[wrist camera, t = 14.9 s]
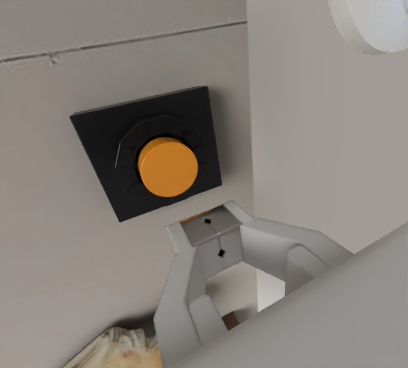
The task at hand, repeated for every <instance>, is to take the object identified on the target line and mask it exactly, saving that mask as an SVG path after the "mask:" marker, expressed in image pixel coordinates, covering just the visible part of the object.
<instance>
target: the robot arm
mask: <svg viewBox="0 0 408 368" xmlns="http://www.w3.org/2000/svg"><path fill="white" fill-rule="evenodd" d="M404 7H405V11H406V12H407V13H408V0H404ZM167 229H168V232H169V235H170V238H171V241H172V244H173V247H174V250H175V253H176V255H175V256H174V259H173V262H172V265H171V268H170V271H169V274H168V277H167V280H166V283H165V286H164V289H163V292H162V295H161V298H160V301H159V304H158V307H157V310H156V313H155V316H154V324H155V330H156V335H157V340H158V345H159V350H160V355H161V361H162V366H163V368H408V222H407V223H405V224H403V225H402V226H400V227H399V228H397V229H395V230H394V231H392V232H390V233H389V234H387V235H385V236H384V237H382V238H380V239H379V240H377V241H375V242H374V243H372V244H371V245H369V246H367V247H366V248H364V249H362V250H361V251H359V252H357V253H356V254H353V253H351V252H349V251H348V250H347V249H345V248H344V247H342V246H341V245H339V244H338V243H336V242H335V241H333V240H332V239H330V238H329V237H327V236H326V235H324V234H323V233H321V232H320V231H315V230H311V229H306V228H302V227H297V226H293V225H288V224H284V223H279V222H275V221H270V220H266V219H261V218H256V219H254V218H253V217H252V216H251V215H250V214H248V213H247V212H246V211H245V210H244V209H243V208H242V207H240V206H239V205H238V204H237V203H236V202H235V201H233V200H231V201H229V202H226V203H224V204H222V205H220V206H218V207H215V208H213V209H211V210H208V211H206V212H203V213H200V214H198V215H195V216H193V217H190V218H187V219H185V220H182V221H180V222H177V223H175V224H172V225H170V226H167ZM243 260H244V262H246V263H248V264H250V265H252V266H254V267H256V268H258V269H260V270H262V271H264V272H266V273H268V274H270V275H273V276H275V277H277V278H279V279H281V280H283V281H285V297H283V298H282V299H280V300H279V301H277V302H275V303H273V304H272V305H270V306H268V307H267V308H265V309H263V310H262V311H260V312H259V313H257V314H255V315H254V316H252V317H250V318H249V319H247V320H245V321H244V322H242V323H240V324H239V325H237V326H236V327H234V328H232V329H231V330H229V331H228V330H227V328H226V326H225V324H224V322H223V320H222V318H221V316H220V314H219V312H218V310H217V308H216V306H215V304H214V302H213V300H212V299H211V297H210V295H206V294H205V290H206V279H208V278H210V277H212V276H213V275H215V274H217V273H219V272H221V271H223V270H224V269H227V268H229V267H231V266H233V265H235V264H237V263H239V262H241V261H243Z"/></svg>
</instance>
